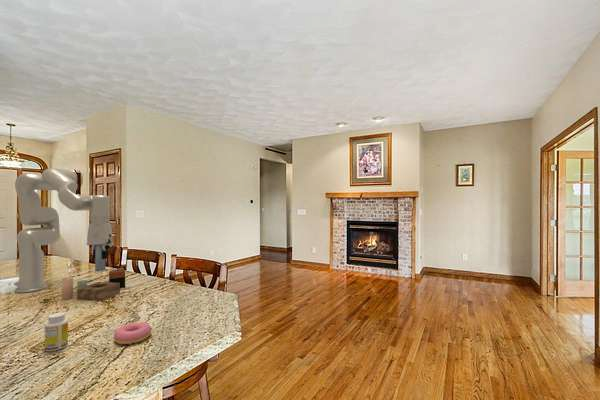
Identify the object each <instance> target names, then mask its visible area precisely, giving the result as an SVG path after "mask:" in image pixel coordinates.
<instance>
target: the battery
mask: <svg viewBox="0 0 600 400" xmlns="http://www.w3.org/2000/svg"><path fill="white" fill-rule="evenodd" d="M108 282H110V283H120V289H123V288H125V287H126V270H125V269H124V268H123V267H119V268H118V269H111V270H109V271H108Z"/></svg>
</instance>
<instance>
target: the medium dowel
mask: <svg viewBox="0 0 600 400" xmlns="http://www.w3.org/2000/svg"><path fill="white" fill-rule="evenodd" d="M61 281H62V284H61V300H63V301H64V300H65V301H66V300H72V299H74V278H73V277H67V278H63V279H61Z"/></svg>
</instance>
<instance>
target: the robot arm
mask: <svg viewBox="0 0 600 400" xmlns="http://www.w3.org/2000/svg"><path fill="white" fill-rule="evenodd" d="M77 176H78V175H77V174H76V172H74V171H72V170H70V169H64V168H57V167H56V168H55V167H54V168H51V167H50V168H46V169H45V170H43V171H42V173H38V172H37V173H36V172H25V173H22V174H20V175H18V176H17V178H16V179H15V182H14V188H15V189H14V190H15V192H16V195H17V198H18V210H19V213H18V214H19V220H20V223H21V224H22V225H24V226H43V227H31V228H29V227H28V228H24V229H22V230H20V231H19V232H18V233H17V235H16V241H17V245H18V252H19V253H18V254H19V255H18V265H19V266H18V280H17V281H16V282H14V283H13V285H14V286H16V288H14V293H19V294H20V293H24V294H25V293H31V292H37V291H41V290H45V289H47V288H48V286H49V285H48V284H47V283H45V252H44V251H43V250H42V249H41V246H47V245H54V244H56V243H57V242H58V241H60V240H59V239H60V236H61V232H60V231H61V227H60V215H59V213H58V210H56V209H55V208H54V207H49V206H42V199H41V196H40V195H39V194H38V193H37V192H36V191H37V190H38V191H56V192H58V194H57V197H58V200H59V202H60V203H61V205H63V206H64V207H66V208H68V209H69V210H71V211H76V212H77V211H79V212H81V211H90V219H89V222H90V223H89V224H88V228H87V237H86V246H88V247H89V248H90V249H91V250H90V251H92V259H93V260H95V245H102V248H103V251H102V259H105V260H106V259H107V260H108V258H109V251H110V249H111V247H112V246H114V245H115V241H114V240H113V228H112V224H111V221H110V219H111V217H110V216H111V213H110V210H111V207H110V206H111V205H110V204H111V201H110V200H111V199H110V196H108V195H105V194H104V195H103V194H100V195H99V194H97V195H95V194H94V195H93V194H92V195H91V194H90V195H89V194H75V192H77V189H78V183H77V182H78V177H77Z"/></svg>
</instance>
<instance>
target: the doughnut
mask: <svg viewBox="0 0 600 400" xmlns="http://www.w3.org/2000/svg"><path fill="white" fill-rule="evenodd" d="M151 333H152V327H151V325H150V323H147V322H143V321H141V322H140V321H138V322H137V321H136V322H130V323H127V324H124V325H122V326H120V327H118V328H117V329H116V330H115V331H114V334H113V339H114V342H116V344H119V345H123V344H128V345H133V344H132V343H134V344H137V343H136V342H138V343H140V342H139V341H141V342H143V341H144V339H145V340H146V339H147V338H148V337H149V336H150V335H151ZM142 340H143V341H142Z"/></svg>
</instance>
